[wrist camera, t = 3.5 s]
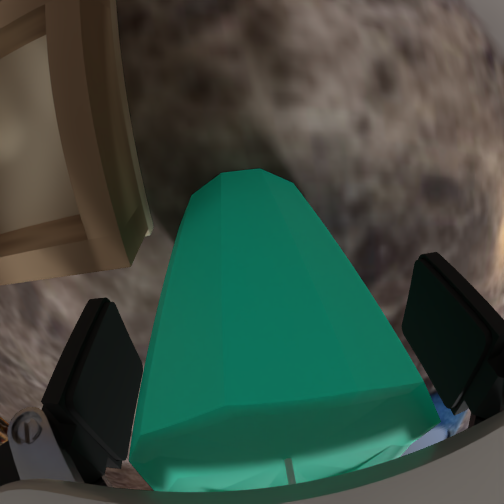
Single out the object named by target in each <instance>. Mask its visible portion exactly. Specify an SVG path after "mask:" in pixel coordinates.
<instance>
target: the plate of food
mask: <svg viewBox="0 0 504 504" xmlns="http://www.w3.org/2000/svg"><path fill="white" fill-rule="evenodd" d="M8 425H9V424H8V423H7V422H6V421H4V420H3V419H2V418H1V417H0V445H2V444H3V443H5V442H6V441H8V434H7V431H8Z"/></svg>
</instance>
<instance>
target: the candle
mask: <svg viewBox="0 0 504 504" xmlns="http://www.w3.org/2000/svg"><path fill="white" fill-rule="evenodd" d="M440 422H441V421H440V418H439V416H438V413H437V411H436V409H435V406H434V404H433V402H432V399H431V397H430V395H429V392H428V390H427V388H426V386H425V383H424V381H423V379H422V378H421V376H420V374H419V372H418V371H417V369H416V367H415V365H414V364H413V362H412V360H411V358H410V357H409V355H408V353H407V351H406V350H405V348H404V346H403V345H402V343H401V341H400V340H399V338H398V336H397V335H396V333H395V331H394V330H393V328H392V326H391V325H390V323H389V322H388V320H387V318H386V317H385V315H384V314H383V312H382V310H381V309H380V307H379V306H378V304H377V302H376V301H375V299H374V298H373V296H372V295H371V293H370V292H369V290H368V288H367V287H366V285H365V284H364V282H363V281H362V279H361V278H360V276H359V275H358V273H357V272H356V270H355V269H354V267H353V266H352V264H351V263H350V261H349V260H348V258H347V257H346V255H345V254H344V253H343V251H342V250H341V248H340V247H339V245H338V244H337V242H336V241H335V240H334V238H333V237H332V235H331V234H330V232H329V231H328V230H327V228H326V227H325V225H324V224H323V223H322V221H321V220H320V218H319V217H318V216H317V214H316V213H315V212H314V210H313V209H312V207H311V206H310V205H309V203H308V202H307V201H306V199H305V198H304V197H303V195H302V194H301V193H300V191H299V190H298V189H297V187H296V186H295V185H294V183H292V182H290V181H288V180H285V179H283V178H281V177H279V176H276V175H274V174H272V173H270V172H267V171H265V170H263V169H260V168H258V169H249V170H240V171H231V172H223V173H220V174H219V175H218V176H216V177H215V178H214V179H212V180H211V181H210V182H208V183H207V184H206V185H204V186H203V187H202V188H200V189H199V190H198V191H196V192H195V193H194V194H192V195H191V198H190V200H189V203H188V205H187V208H186V210H185V213H184V216H183V218H182V221H181V224H180V226H179V229H178V233H177V236H176V240H175V243H174V247H173V250H172V254H171V258H170V261H169V265H168V269H167V273H166V276H165V280H164V284H163V288H162V292H161V296H160V300H159V304H158V308H157V312H156V317H155V321H154V325H153V330H152V334H151V338H150V343H149V348H148V352H147V357H146V362H145V367H144V372H143V377H142V382H141V387H140V393H139V398H138V404H137V409H136V415H135V421H134V427H133V434H132V440H131V447H130V454H129V462H130V463H131V464H132V466H133V467H134V468H135V469H136V470H137V472H138V473H139V474H140V475H141V476H142V478H143V479H144V480H145V481H146V482H147V483H148V484H149V486H150V487H151V488H152V489H153V490H154V491H163V492H222V491H239V490H251V489H261V488H269V487H277V486H284V485H291V484H297V483H303V482H308V481H314V480H319V479H323V478H328V477H333V476H337V475H341V474H345V473H349V472H353V471H357V470H361V469H364V468H368V467H371V466H374V465H378V464H381V463H384V462H387V461H390V460H393V459H396V458H399V457H400V456H401V455H402V454H403V453H404V452H405V451H406V449H407V448H408V447H409V446H410V445H411V444H412V443H413V442H415V441H416V440H417V439H419V438H420V437H421V436H423V435H424V434H426V433H427V432H428V431H430V430H431V429H432V428H434V427H435V426H436V425H437V424H439V423H440Z"/></svg>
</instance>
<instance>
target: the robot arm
mask: <svg viewBox="0 0 504 504" xmlns="http://www.w3.org/2000/svg"><path fill="white" fill-rule="evenodd" d="M402 331H403V334H404V336H405V337H406V339H407V341H408V342H409V344H410V346H411V347H412V349H413V351H414V352H415V354H416V356H417V357H418V359H419V361H420V362H421V364H422V366H423V367H424V369H425V371H426V373H427V374H428V376H429V378H430V380H431V381H432V383H433V385H434V387H435V389H436V390H437V392H438V394H439V396H440V398H441V399H442V401H443V403H444V405H445V406H446V407H447V408H449V409H451V411H452V413H453V415H457V414H459V413H461V412H463V411H465V410H467V409H468V407H469V409H470V411H471V416H470V421H469V426H468V429H466V430H464V431H462V432H460V433H458V434H456V435H454V436H452V437H449V438H447V439H445V440H443V441H440V442H438V443H436V444H434V445H431V446H428V447H426V448H424V449H421V450H419V451H416V452H413V453H410V454H408V455H405V456H402V457H399V458H396V459H393V460H390V461H387V462H384V463H381V464H378V465H374V466H371V467H368V468H364V469H361V470H357V471H353V472H349V473H345V474H341V475H337V476H333V477H328V478H323V479H319V480H314V481H308V482H303V483H297V484H291V485H284V486H277V487H269V488H261V489H251V490H239V491H222V492H163V491H147V490H134V489H123V488H114V487H112V485H111V484H110V482H109V481H108V479H107V477H106V476H105V470H106V467H109V468H118V469H121V465H122V460H126V458H127V454H128V448H129V442H130V436H131V430H132V424H133V419H134V413H135V408H136V403H137V398H138V393H139V388H140V383H141V378H142V374H143V365H142V362H141V360H140V358H139V356H138V353H137V351H136V349H135V347H134V345H133V343H132V341H131V339H130V337H129V334H128V332H127V330H126V328H125V325H124V323H123V321H122V319H121V316H120V314H119V312H118V309H117V307H116V305H115V303H114V302H110V300H109V299H108V298H98V299H90V300H89V301H88V303H87V304H86V306H85V308H84V310H83V312H82V314H81V316H80V318H79V320H78V322H77V324H76V326H75V328H74V330H73V332H72V334H71V336H70V338H69V340H68V342H67V344H66V346H65V348H64V350H63V352H62V355H61V357H60V359H59V361H58V363H57V366H56V368H55V370H54V372H53V375H52V377H51V379H50V381H49V384H48V386H47V389H46V391H45V393H44V396H43V398H42V401H41V402H42V404H43V408H42V410H40V409H39V408H36V407H27V408H24V409H22V410H20V411H19V412H18V413H16V414H15V415H14V417H13V418H12V419H11V421H10V423H9V425H8V431H7V434H8V441H6V442H5V443H3V444H2V445H0V504H504V320H503V318H502V317H501V316H500V315H499V314H498V313H497V312H496V311H495V310H494V309H493V307H492V306H491V305H490V304H489V303H488V302H487V301H486V300H485V299H484V298H483V297H482V296H481V295H480V294H479V293H478V291H477V290H476V289H475V288H474V287H473V286H472V285H471V284H470V283H469V282H468V281H467V280H466V279H465V278H464V277H463V276H462V275H461V274H460V273H459V272H458V271H457V270H456V269H455V268H454V267H453V266H451V265H450V264H449V263H448V262H447V261H446V260H445V259H444V258H443V257H442V256H441V255H440V254H439V253H437V252H433V253H427V254H422V255H420V256H419V258H418V260H416V262H415V264H414V269H413V275H412V280H411V285H410V290H409V295H408V300H407V305H406V309H405V314H404V318H403V322H402Z"/></svg>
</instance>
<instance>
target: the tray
mask: <svg viewBox="0 0 504 504" xmlns="http://www.w3.org/2000/svg"><path fill="white" fill-rule="evenodd" d="M153 228H154V227H153V223H152V219H151V215H150V210H149V206H148V202H147V198H146V193H145V189H144V185H143V180H142V175H141V171H140V166H139V161H138V156H137V151H136V146H135V141H134V136H133V130H132V125H131V119H130V113H129V107H128V101H127V94H126V88H125V81H124V74H123V66H122V58H121V50H120V41H119V31H118V20H117V7H116V0H1V1H0V285H7V284H14V283H21V282H28V281H35V280H42V279H49V278H56V277H63V276H70V275H77V274H84V273H91V272H98V271H105V270H112V269H119V268H126V267H131V265H132V263H133V261H134V258H135V256H136V254H137V252H138V250H139V248H140V245H141V243H142V241H143V239H144V237H145V236H150V235H151V232H152V230H153Z"/></svg>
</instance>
